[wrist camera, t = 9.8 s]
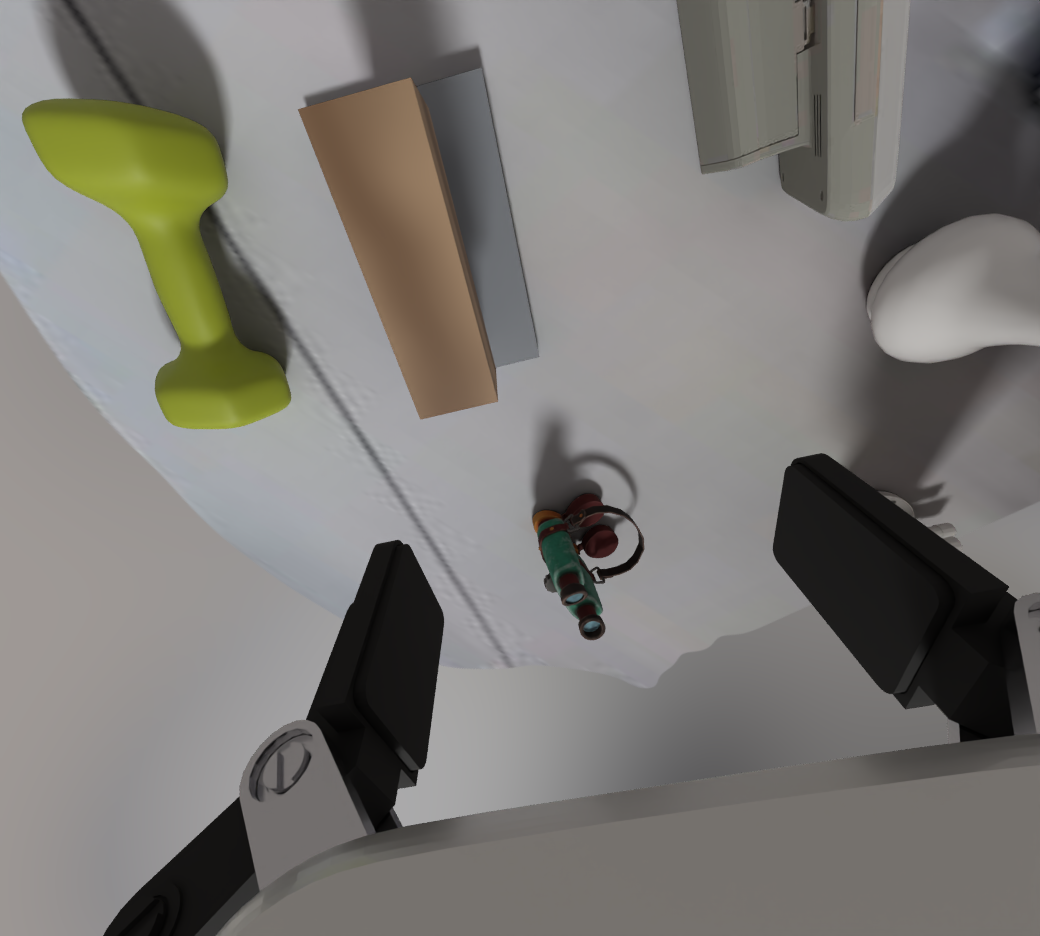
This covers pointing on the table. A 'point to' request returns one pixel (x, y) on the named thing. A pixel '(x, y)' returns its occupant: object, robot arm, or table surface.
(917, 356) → the flower vase
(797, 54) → the digital clock
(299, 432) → the table surface
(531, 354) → the display stand
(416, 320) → the tan bar
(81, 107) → the dumbbell
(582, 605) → the binoculars
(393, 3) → the table surface
